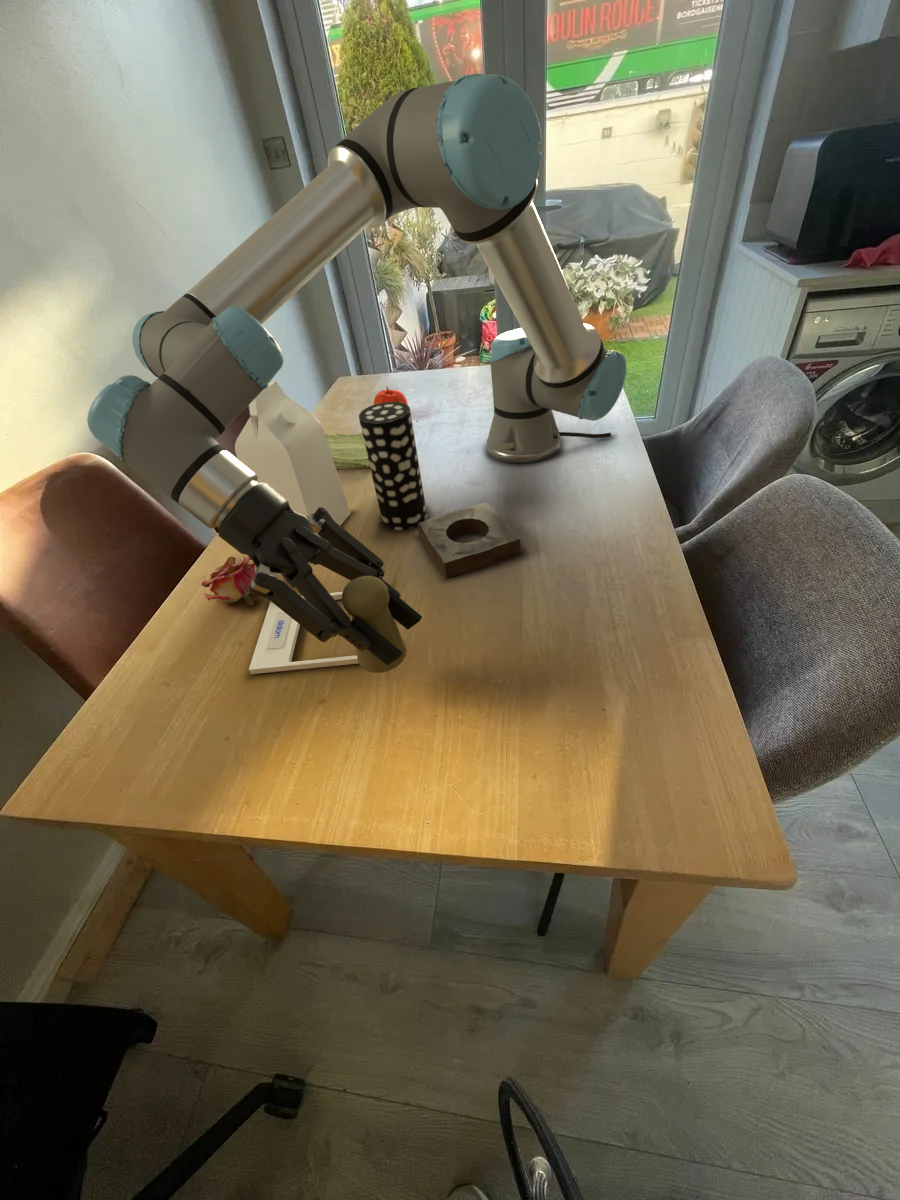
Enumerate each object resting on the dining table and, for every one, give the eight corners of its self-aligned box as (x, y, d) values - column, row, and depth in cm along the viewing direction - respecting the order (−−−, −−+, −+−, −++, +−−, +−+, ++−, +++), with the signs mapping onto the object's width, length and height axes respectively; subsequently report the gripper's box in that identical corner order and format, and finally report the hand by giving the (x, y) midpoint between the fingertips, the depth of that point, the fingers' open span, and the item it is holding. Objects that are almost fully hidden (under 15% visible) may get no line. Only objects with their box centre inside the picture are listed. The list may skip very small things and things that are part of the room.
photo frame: (270, 598, 86) (384, 586, 85) (272, 603, 87) (386, 591, 86) (248, 668, 75) (378, 655, 74) (250, 674, 76) (380, 661, 75)
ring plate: (488, 515, 99) (487, 500, 97) (522, 554, 89) (521, 539, 87) (419, 536, 96) (416, 522, 94) (446, 579, 87) (443, 564, 85)
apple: (370, 424, 135) (363, 391, 130) (389, 411, 140) (384, 379, 135) (396, 428, 131) (390, 395, 126) (415, 415, 136) (410, 382, 131)
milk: (299, 507, 108) (254, 373, 91) (350, 513, 105) (313, 374, 88) (265, 543, 100) (208, 403, 83) (319, 550, 96) (271, 405, 79)
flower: (286, 582, 88) (255, 540, 86) (244, 610, 80) (210, 565, 79) (254, 602, 93) (226, 563, 92) (213, 630, 86) (181, 588, 85)
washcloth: (374, 471, 116) (371, 457, 114) (298, 470, 120) (294, 457, 118) (391, 442, 126) (389, 429, 124) (321, 443, 130) (317, 430, 128)
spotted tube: (420, 530, 98) (402, 423, 84) (376, 529, 99) (351, 423, 86) (431, 505, 104) (415, 401, 90) (389, 504, 105) (367, 402, 92)
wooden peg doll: (358, 639, 69) (336, 572, 62) (405, 632, 69) (389, 564, 62) (356, 676, 65) (332, 607, 57) (407, 669, 65) (389, 599, 57)
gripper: (273, 482, 67) (417, 602, 72) (171, 575, 55) (354, 711, 60) (297, 443, 62) (450, 576, 67) (190, 537, 49) (388, 690, 55)
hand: (405, 640), depth 64 cm, fingers closed on wooden peg doll, 5 cm apart
